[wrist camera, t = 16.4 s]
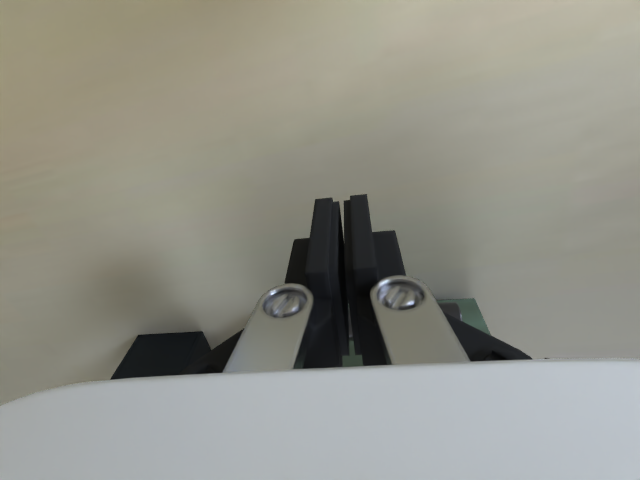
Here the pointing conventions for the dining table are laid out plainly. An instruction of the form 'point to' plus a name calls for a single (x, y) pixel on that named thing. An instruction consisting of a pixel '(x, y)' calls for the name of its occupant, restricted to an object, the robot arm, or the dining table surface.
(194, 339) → the dark glass display case
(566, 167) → the dining table surface
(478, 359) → the robot arm
